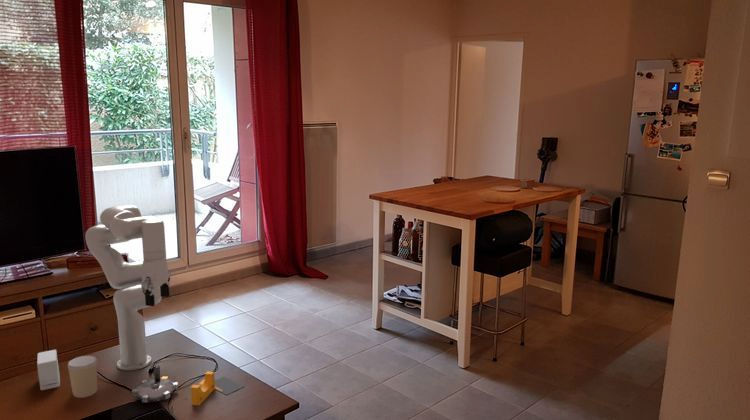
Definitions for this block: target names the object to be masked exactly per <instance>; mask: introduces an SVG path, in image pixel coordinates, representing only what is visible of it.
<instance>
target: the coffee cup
mask: <svg viewBox="0 0 750 420" xmlns="http://www.w3.org/2000/svg"><path fill="white" fill-rule="evenodd" d="M67 368H68V374H69V380H70V385H71V391H72V395H73V397H75V398H87V397H88V398H89V397H91V396H93V395H94V394H95V393H97V391H98V359H97V358H96V357H95V356H93V355H81V356H76V357H74V358H72V359H71V360H69V361H68V363H67Z"/></svg>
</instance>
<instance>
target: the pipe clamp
mask: <svg viewBox="0 0 750 420" xmlns="http://www.w3.org/2000/svg"><path fill="white" fill-rule="evenodd" d="M215 379H216V378H215V371H209V370H208V371H206V372H205V373H204V379H202V380H201V381H200V382H199V383H198V384H192V385H191V386H190V394H191V396H190V397H191V405H192V406H200V405H201V404H202V403H203V402H204V401H205V400H206V399H207V398H208V397H209V396H210V394H211V393H212V392H213V391H214V390H215Z"/></svg>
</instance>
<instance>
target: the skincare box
mask: <svg viewBox="0 0 750 420" xmlns="http://www.w3.org/2000/svg"><path fill="white" fill-rule="evenodd" d="M57 352H58V351H57V349H52V350H45V351H40V352H38V353H37V361H36V363H37V364H36V365H37V375H38V376H37V377H38V383H39V388H40V391H44V390H45V391H46V390H49V389H54V388H59V387H61V379H60V378H61V377H60V369H59V361H58V353H57Z"/></svg>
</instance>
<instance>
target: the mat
mask: <svg viewBox="0 0 750 420" xmlns="http://www.w3.org/2000/svg"><path fill="white" fill-rule="evenodd" d="M243 388H245V386H244V385H242V384H241V383H239V382H236V381H234V380H233V379H231V378H228V377H226V376H222V377H220V378H217V379H216V380H215V389H214V390H215V391H218V392H219V393H221V394H223V395H225V396H228V395H230V394H232V393H234V392H236V391H238V390H241V389H243Z"/></svg>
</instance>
